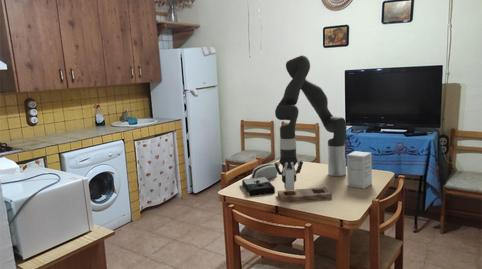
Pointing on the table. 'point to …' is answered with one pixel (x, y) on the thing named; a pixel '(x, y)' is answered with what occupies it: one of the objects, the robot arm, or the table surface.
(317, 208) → the table surface
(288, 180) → the steel peg
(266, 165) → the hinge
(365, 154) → the supplement box
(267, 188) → the multimeter
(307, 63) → the robot arm
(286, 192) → the hole board
